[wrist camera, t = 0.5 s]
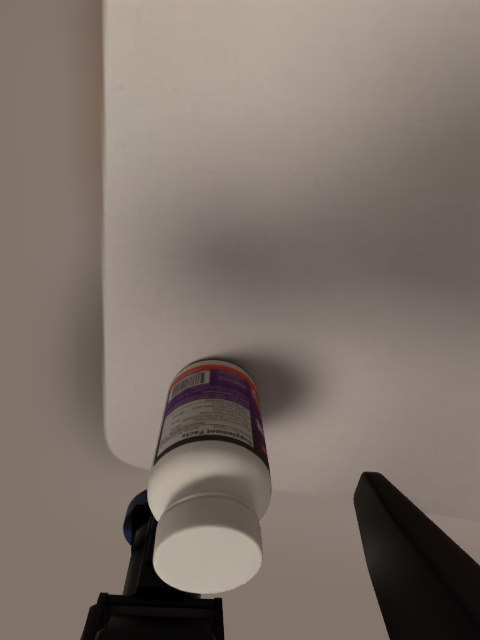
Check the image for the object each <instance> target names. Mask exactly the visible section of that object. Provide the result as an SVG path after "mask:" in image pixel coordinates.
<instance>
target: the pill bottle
mask: <svg viewBox="0 0 480 640" xmlns="http://www.w3.org/2000/svg"><path fill="white" fill-rule="evenodd" d="M271 491H272V487H271V477H270V469H269V463H268V457H267V450H266V444H265V438H264V431H263V424H262V418H261V411H260V404H259V397H258V393H257V389H256V386H255V384H254V382H253V380H252V379H251V377H250V376H249V375H248V374H247V373H246V372H245V371H244V370H243V369H241V368H240V367H238V366H236V365H234V364H232V363H229V362H225V361H219V360H207V361H201V362H197V363H194V364H192V365H189V366H188V367H186V368H184V369H183V370H182V371H181V372H179V373H178V374H177V376H176V377H175V378H174V379H173V381H172V383H171V385H170V387H169V390H168V394H167V398H166V402H165V407H164V412H163V417H162V421H161V426H160V431H159V435H158V440H157V445H156V449H155V454H154V458H153V463H152V468H151V473H150V477H149V483H148V493H147V494H148V503H149V506H150V509H151V511H152V513H153V515H154V517H155V519H156V520H157V521H158V525H157V530H156V537H155V545H154V553H153V565H154V569H155V571H156V573H157V574H158V576H159V577H160V578H161V579H162V580H163V581H164V582H165V583H167V584H168V585H170V586H172V587H174V588H177V589H179V590H182V591H186V592H191V593H199V594H204V593H205V594H209V593H219V592H223V591H228V590H231V589H234V588H237V587H239V586H241V585H243V584H245V583H247V582H248V581H249V580H250V579H252V577H254V576H255V574H256V573H257V572H258V571H259V569H260V567H261V564H262V560H263V553H262V540H261V529H260V524H259V521H260V520H261V518H262V517H263V515H264V514H265V512H266V510H267V508H268V506H269V503H270V499H271Z"/></svg>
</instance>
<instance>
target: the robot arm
mask: <svg viewBox="0 0 480 640" xmlns="http://www.w3.org/2000/svg"><path fill="white" fill-rule="evenodd" d="M354 506H355V510H356V516H357V520H358V525H359V530H360V535H361V539H362V544H363V549H364V554H365V558H366V562H367V567H368V571H369V574H370V577H371V581H372V584H373V587H374V590H375V593H376V597H377V600H378V603H379V606H380V609H381V613H382V616H383V619H384V622H385V625H386V629H387V632H388V635H389V638H390V640H480V565H478V564H477V563H476V562H475V561H474V560H473V559H472V558H471V557H470V556H469V555H468V554H467V553H466V552H465V551H463V550H462V549H461V548H460V547H459V546H458V545H457V544H456V543H455V542H454V541H453V540H452V539H451V538H450V537H449V536H447V535H446V534H445V533H444V532H443V531H442V530H441V529H440V528H439V527H438V526H437V525H436V524H435V523H433V522H432V521H431V520H430V519H429V518H428V517H427V516H426V515H425V514H424V513H423V512H422V511H421V510H420V509H418V508H417V507H416V506H415V505H414V504H413V503H412V502H411V501H410V500H409V499H408V498H407V497H406V496H404V495H403V494H402V493H401V492H400V491H399V490H398V489H397V488H396V487H395V486H394V485H393V484H392V483H390V482H389V481H388V480H387V479H386V478H385V477H384V476H383V475H382V474H380V473H378V472H363V473H362V475H361V477H360V480H359V482H358V485H357V488H356V490H355V493H354ZM157 525H158V521H157V520H156V519H155V517H154V515H153V513H152V511H151V509H150V506H149V505H142V504H136V505H134V506H133V508H132V512H131V558H130V563H129V568H128V572H127V577H126V581H125V586H124V591H123V595H109V594H108V593H100V595H99V598H98V601H97V604H95V605H93V606H91V607H90V609H89V613H88V617H87V620H86V624H85V627H84V631H83V634H82V636H81V639H80V640H224V625H223V610H222V598H214V599H200V598H201V594H199V593H191V592H186V591H182V590H179V589H177V588H174V587H172V586H170V585H168V584H167V583H165V582H164V581H163V580H162V579H161V578H160V577H159V576H158V574H157V573H156V571H155V569H154V565H153V553H154V545H155V537H156V530H157Z"/></svg>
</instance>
